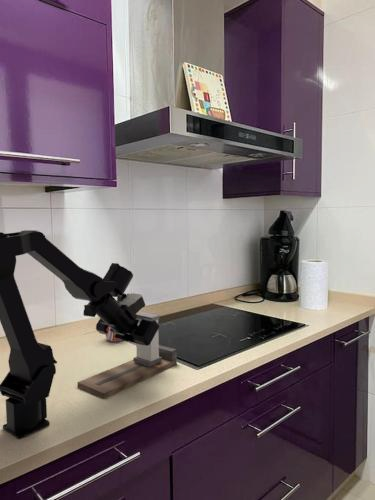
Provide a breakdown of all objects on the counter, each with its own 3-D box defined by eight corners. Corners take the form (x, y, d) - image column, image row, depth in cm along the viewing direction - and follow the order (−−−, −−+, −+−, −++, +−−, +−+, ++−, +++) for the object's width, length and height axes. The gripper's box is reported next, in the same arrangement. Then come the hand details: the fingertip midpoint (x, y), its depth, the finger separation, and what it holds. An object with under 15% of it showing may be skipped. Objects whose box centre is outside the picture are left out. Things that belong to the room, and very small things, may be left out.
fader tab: (149, 367, 100) (149, 318, 99) (133, 361, 103) (132, 314, 103) (162, 361, 104) (161, 314, 103) (145, 356, 107) (144, 311, 106)
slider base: (104, 398, 85) (103, 380, 85) (77, 387, 91) (77, 370, 91) (176, 363, 106) (176, 349, 105) (150, 356, 112) (150, 342, 111)
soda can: (107, 336, 132) (106, 303, 131) (127, 336, 132) (126, 302, 131) (104, 343, 125) (103, 307, 124) (125, 342, 125) (124, 307, 124)
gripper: (153, 288, 91) (182, 323, 100) (103, 281, 102) (133, 313, 111) (130, 328, 85) (163, 360, 94) (80, 316, 96) (113, 346, 106)
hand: (142, 343), depth 102 cm, fingers closed, pressing on fader tab
